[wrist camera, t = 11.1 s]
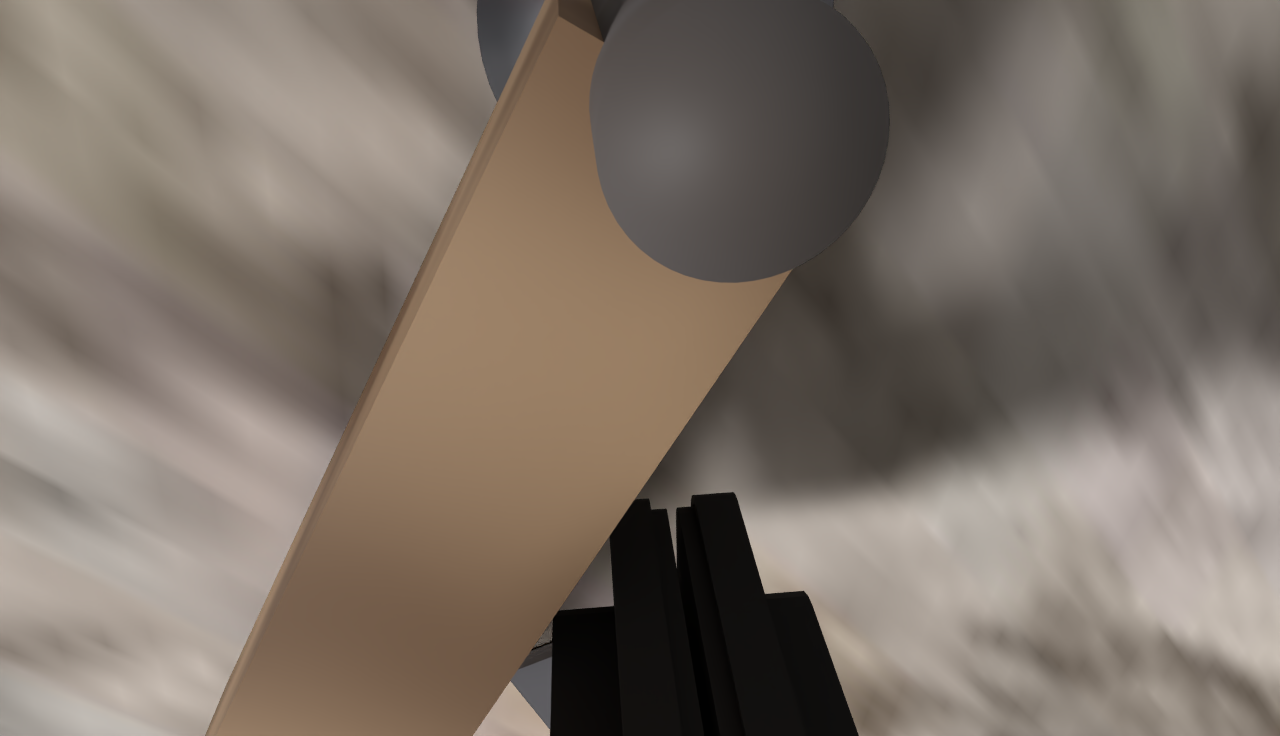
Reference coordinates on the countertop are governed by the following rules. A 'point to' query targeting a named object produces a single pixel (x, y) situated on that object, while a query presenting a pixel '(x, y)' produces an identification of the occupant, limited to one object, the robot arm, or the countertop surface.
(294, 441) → the countertop surface
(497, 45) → the hinge base
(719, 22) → the bar
